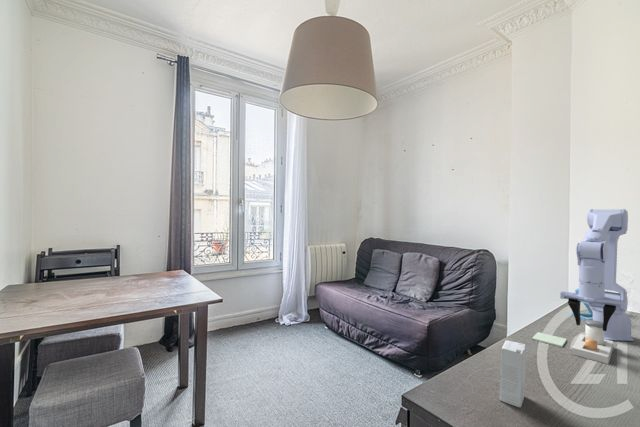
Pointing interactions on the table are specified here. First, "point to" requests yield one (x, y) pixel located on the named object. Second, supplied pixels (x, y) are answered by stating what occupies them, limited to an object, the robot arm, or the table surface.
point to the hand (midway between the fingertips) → (591, 327)
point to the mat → (549, 339)
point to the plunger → (591, 344)
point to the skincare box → (512, 373)
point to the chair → (585, 313)
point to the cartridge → (594, 331)
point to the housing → (598, 355)
